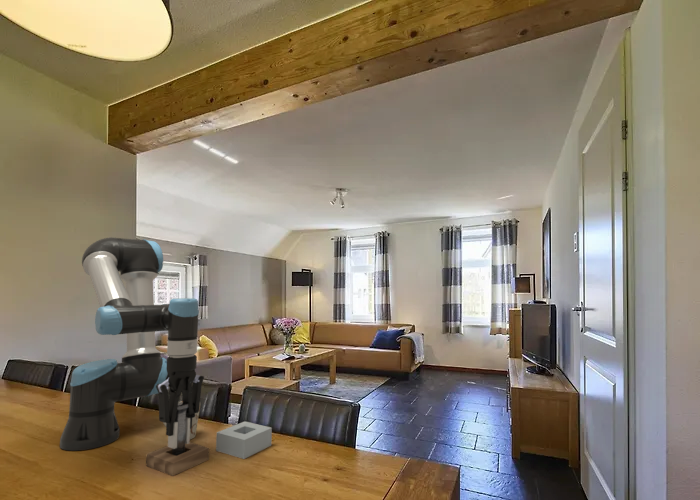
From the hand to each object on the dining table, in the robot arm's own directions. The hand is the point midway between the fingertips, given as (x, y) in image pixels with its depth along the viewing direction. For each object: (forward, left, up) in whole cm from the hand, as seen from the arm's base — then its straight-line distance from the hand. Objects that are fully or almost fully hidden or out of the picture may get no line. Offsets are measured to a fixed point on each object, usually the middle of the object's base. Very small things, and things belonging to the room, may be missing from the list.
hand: (178, 444), depth 106 cm
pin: (0, 0, -5) cm, 5 cm away
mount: (0, 0, -5) cm, 5 cm away
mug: (-16, +12, -5) cm, 21 cm away
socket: (+8, +16, -5) cm, 18 cm away
